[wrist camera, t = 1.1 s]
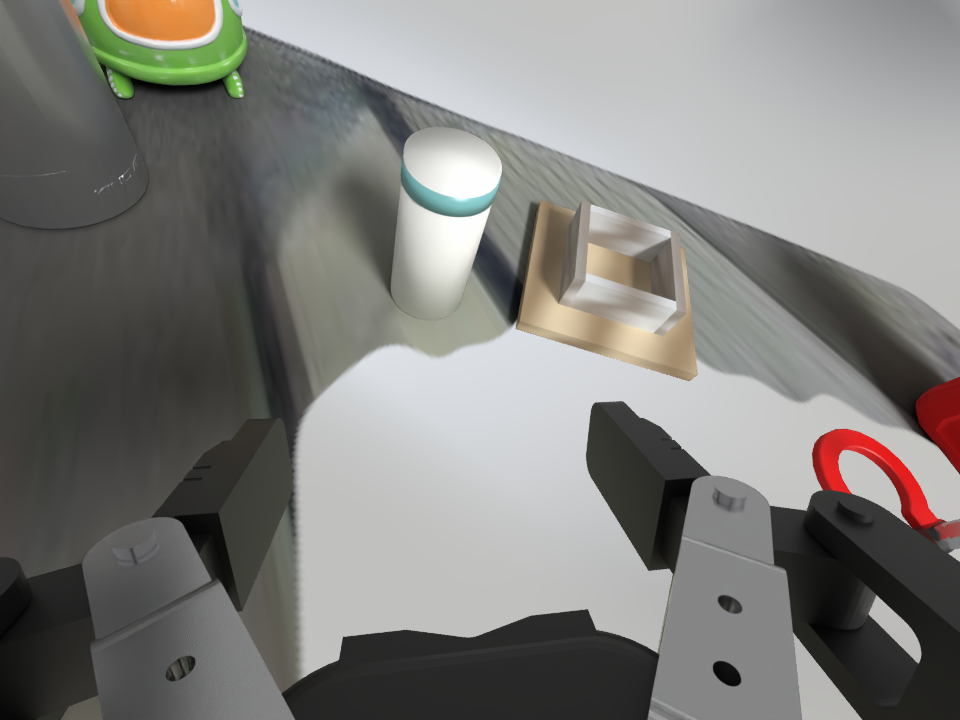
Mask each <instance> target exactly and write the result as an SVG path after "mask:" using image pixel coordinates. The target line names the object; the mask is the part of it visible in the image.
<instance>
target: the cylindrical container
mask: <svg viewBox="0 0 960 720" xmlns="http://www.w3.org/2000/svg"><path fill="white" fill-rule="evenodd" d="M501 173H502V165H501V161H500V159H499V157H498V155H497V154H496V152H495V151H494V150H493V149H492V148H491V147H490V146H489V145H488V144H487V143H486V142H484V141H483V140H481V139H480V138H478V137H476V136H474V135H472V134H470V133H467V132H465V131H461V130H458V129H453V128H447V127H431V128H425V129H422V130H419V131H417V132H415V133H414V134H412V135H411V136H410V137H409V138H408V139H407V141H406V143H405V146H404V151H403V156H402V166H401V186H400V196H399V206H398V216H397V226H396V237H395V247H394V257H393V267H392V277H391V287H390V289H391V295H392V298H393V300H394V302H395V303H396V305H397V306H398V307H399V308H400V309H401V310H402V311H404V312H405V313H407V314H408V315H410V316H412V317H415V318H418V319H422V320H438V319H442V318H445V317H447V316H449V315H451V314H452V313H454V312H455V311H456V309H457V308H458V307H459V305H460V302H461V299H462V296H463V293H464V290H465V287H466V283H467V280H468V277H469V274H470V271H471V268H472V265H473V261H474V258H475V255H476V252H477V249H478V246H479V242H480V239H481V236H482V233H483V230H484V227H485V224H486V220H487V217H488V214H489V211H490V208H491V205H492V203H493V201H494V198H495V195H496V192H497V189H498V186H499V183H500V178H501Z"/></svg>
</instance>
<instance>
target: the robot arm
mask: <svg viewBox="0 0 960 720" xmlns="http://www.w3.org/2000/svg"><path fill="white" fill-rule="evenodd" d="M147 185H148V172H147V169H146V167H145V164H144V162H143V160H142V158H141V155H140V153H139V151H138V149H137V146H136V144H135V142H134V140H133V138H132V135H131V133H130V131H129V129H128V127H127V124H126V122H125V120H124V117H123V115H122V113H121V111H120V108H119V106H118V104H117V102H116V100H115V97H114V95H113V93H112V91H111V89H110V86H109V84H108V82H107V80H106V78H105V75H104V73H103V71H102V69H101V67H100V65H99V62H98V60H97V58H96V56H95V54H94V51H93V49H92V47H91V45H90V43H89V40H88V38H87V36H86V34H85V32H84V29H83V27H82V25H81V23H80V21H79V18H78V16H77V14H76V12H75V10H74V7H73V5H72V3H71V1H70V0H0V218H2V219H4V220H6V221H9V222H12V223H15V224H18V225H22V226H27V227H34V228H41V229H66V228H75V227H82V226H87V225H91V224H95V223H99V222H102V221H105V220H107V219H110V218H113V217H115V216H117V215H119V214H121V213H122V212H124V211H126V210H128V209H129V208H130V207H131V206H133V205H134V204H135V203H136V202H138V200H139V199H140V198H141V197H142V195H143V194H144V193H145V190H146V188H147ZM586 461H587V467H588V471H589V474H590V476H591V478H592V479H593V481H594V483H595V484H596V486H597V488H598V489H599V491H600V492H601V494H602V496H603V497H604V499H605V501H606V502H607V504H608V506H609V507H610V509H611V510H612V512H613V514H614V515H615V517H616V518H617V520H618V522H619V523H620V525H621V527H622V528H623V530H624V531H625V533H626V534H627V536H628V538H629V540H630V541H631V543H632V545H633V546H634V548H635V549H636V551H637V553H638V554H639V556H640V557H641V559H642V561H643V562H644V564H645V566H646V567H647V569H648V570H649V571H651V570H660V569H670V570H671V572H672V573H673V577H672V582H671V587H670V591H669V597H668V601H667V607H666V611H665V616H664V622H663V627H662V632H661V637H660V642H659V647H658V652H657V653H656V652H654V651H653V650H651V649H649V648H648V647H646V646H644V645H642V644H639V643H637V642H635V641H633V640H631V639H628V638H625V637H622V636H620V635H616V634H612V633H608V632H604V631H599V630H596V628H595V626H594V623H593V621H592V619H591V616H590V614H589V611H588V609H587V610H579V611H569V612H560V613H551V614H542V615H534V616H529V617H527V618H524V619H521V620H518V621H516V622H513V623H511V624H508V625H505V626H503V627H500V628H497V629H495V630H492V631H490V632H487V633H484V634H482V635H479V636H476V637H471V638H465V637H457V636H450V635H442V634H434V633H427V632H419V631H411V630H401V631H392V632H384V633H374V634H366V635H357V636H348V637H343V640H342V646H341V652H340V658H339V660H338V661H336V662H333V663H331V664H328V665H326V666H324V667H322V668H320V669H318V670H316V671H314V672H312V673H311V674H309V675H307V676H306V677H304V678H302V679H301V680H299V681H298V682H296V683H295V684H294V685H292V686H291V687H290V688H288V689H287V690H286V691H284V692H283V693H282V694H281V693H280V691H279V689H278V687H277V685H276V683H275V681H274V680H273V678H272V676H271V674H270V672H269V670H268V669H267V667H266V665H265V663H264V661H263V659H262V657H261V656H260V654H259V652H258V650H257V648H256V646H255V644H254V643H253V641H252V639H251V637H250V635H249V633H248V631H247V630H246V628H245V626H244V624H243V622H242V620H241V618H240V617H239V615H238V613H237V612H238V611H242V610H243V608H244V605H245V603H246V601H247V598H248V596H249V594H250V591H251V589H252V586H253V584H254V582H255V579H256V577H257V575H258V572H259V570H260V567H261V565H262V563H263V560H264V558H265V555H266V553H267V551H268V548H269V546H270V544H271V541H272V539H273V536H274V534H275V532H276V529H277V527H278V525H279V522H280V520H281V517H282V515H283V513H284V510H285V508H286V506H287V503H288V501H289V498H290V495H291V491H292V469H291V463H290V456H289V450H288V444H287V438H286V432H285V426H284V423H283V421H282V419H281V418H271V419H252V420H247V421H246V422H245V423H244V424H243V425H242V427H241V428H240V429H239V431H238V432H237V433H236V435H235V436H234V437H233V439H232V440H230V441H222V442H221V443H219V444H218V445H216V446H215V447H213V448H212V449H210V450H209V451H207V452H206V453H204V454H203V456H202V457H201V458H200V459H199V460H198V462H197V463H196V464H195V465H194V466H193V470H190V471H189V473H188V474H187V475H186V476H185V477H184V479H183V482H180V483H179V485H178V486H177V487H176V488H175V490H174V491H173V492H172V493H171V494H170V496H169V497H168V498H167V499H166V501H165V502H164V503H163V504H162V505H161V507H160V508H159V509H158V510H157V511H156V513H155V514H154V515H153V516H152V518H150V519H145V520H141V521H137V522H135V523H132V524H129V525H126V526H124V527H122V528H120V529H118V530H116V531H114V532H112V533H110V534H109V535H107V536H106V537H104V538H103V539H101V540H100V541H99V542H97V543H96V544H95V545H94V546H93V547H92V548H91V549H90V550H89V551H88V553H87V554H86V556H85V557H84V560H83V563H81V564H78V565H75V566H71V567H67V568H64V569H60V570H56V571H53V572H49V573H46V574H42V575H38V576H35V577H31V578H28V579H26V577H25V575H24V573H23V570H22V568H21V566H20V564H19V563H18V561H16V560H14V559H11V558H5V557H0V720H61V718H62V716H63V715H64V713H65V712H66V710H67V708H68V707H69V706H71V705H73V704H76V703H79V702H81V701H84V700H86V699H89V698H92V697H94V696H97V695H99V700H100V706H101V712H102V717H103V720H802V714H801V706H800V695H799V686H798V676H797V667H796V657H795V647H794V638H793V633H794V634H795V635H796V636H797V638H798V639H799V640H800V642H801V643H802V644H803V645H804V647H805V648H806V649H807V651H808V652H809V653H810V654H811V656H812V657H813V658H814V659H815V661H816V662H817V663H818V664H819V666H820V667H821V668H822V669H823V671H824V672H825V673H826V674H827V676H828V677H829V678H830V679H831V680H832V682H833V683H834V685H835V686H836V687H837V688H838V689H839V691H840V692H841V693H842V695H843V696H844V697H845V698H846V700H847V701H848V702H849V703H850V705H851V706H852V707H853V708H854V710H855V711H856V712H857V713H858V715H859V716H860V717H861V719H862V720H960V562H959V561H958V560H956V559H955V558H953V557H952V556H951V555H949V554H948V553H946V552H945V551H944V550H942V549H941V548H939V547H938V546H937V545H935V544H934V543H932V542H931V541H930V540H928V539H927V538H925V537H924V536H923V535H921V534H920V533H918V532H917V531H916V530H914V529H913V528H911V527H910V526H909V525H907V524H906V523H904V522H903V521H901V520H900V519H899V518H897V517H896V516H895V515H893V514H892V513H890V512H889V511H887V510H886V509H884V508H883V507H881V506H879V505H878V504H875V503H874V502H871V501H869V500H867V499H865V498H862V497H859V496H856V495H853V494H850V493H846V492H841V491H833V490H823V491H818V492H816V493H814V494H813V495H812V496H811V499H810V502H809V506H808V508H807V511H804V510H797V509H790V508H781V507H775V506H769V503H768V501H767V499H766V498H765V497H764V496H763V495H762V494H761V493H760V492H758V491H757V490H756V489H754V488H752V487H751V486H749V485H747V484H745V483H743V482H740V481H738V480H735V479H731V478H727V477H722V476H711V475H710V474H709V473H708V472H707V471H706V470H705V469H704V468H703V467H702V466H701V465H700V464H699V463H698V462H696V461H695V460H694V458H692V457H691V456H690V455H689V454H688V453H687V452H686V451H685V450H684V449H681V446H680V445H679V444H678V443H677V442H676V441H675V440H672V438H671V437H670V436H669V435H668V434H667V433H666V432H665V431H664V430H663V429H662V428H661V427H660V426H658V425H656V424H654V423H652V422H650V421H648V420H646V419H644V418H639V417H638V416H637V415H636V414H635V413H634V412H633V411H632V410H631V409H630V408H629V407H628V406H627V405H626V404H625V403H624V402H622V401H618V402H598V403H594V404H593V406H592V409H591V415H590V424H589V433H588V442H587V452H586ZM876 595H877V596H878V597H879V598H880V599H881V600H883V601H884V602H885V603H886V604H887V605H888V606H889V607H890V608H891V609H892V610H893V611H894V612H895V613H897V614H898V615H899V616H900V617H901V618H902V619H903V620H904V621H905V622H906V623H907V624H908V625H909V626H910V627H911V629H912V630H913V632H914V633H915V635H916V637H917V638H918V641H919V643H920V647H921V653H922V655H921V660H920V662H919V664H918V663H917V662H915V660H914V659H913V658H912V657H911V656H910V655H909V654H908V653H906V651H905V650H904V649H903V648H902V647H901V646H900V645H899V644H898V643H897V642H896V641H895V640H894V639H893V638H892V637H891V636H890V635H889V634H888V633H886V631H884V629H883V628H882V627H881V626H880V625H879V624H878V623H877V622H876V621H875V620H874V619H872V618H871V617H870V616H869V615H868V614H869V611H870V609H871V607H872V604H873V602H874V600H875V597H876Z"/></svg>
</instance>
